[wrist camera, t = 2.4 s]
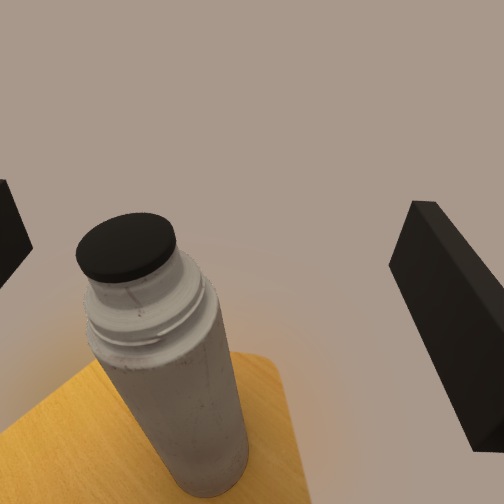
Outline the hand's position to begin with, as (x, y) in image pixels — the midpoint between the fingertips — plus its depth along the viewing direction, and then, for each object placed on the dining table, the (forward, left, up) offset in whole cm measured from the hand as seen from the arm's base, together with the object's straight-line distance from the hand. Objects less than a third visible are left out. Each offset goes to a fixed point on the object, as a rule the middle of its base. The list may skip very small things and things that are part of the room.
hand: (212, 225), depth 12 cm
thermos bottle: (+6, -3, -32) cm, 32 cm away
